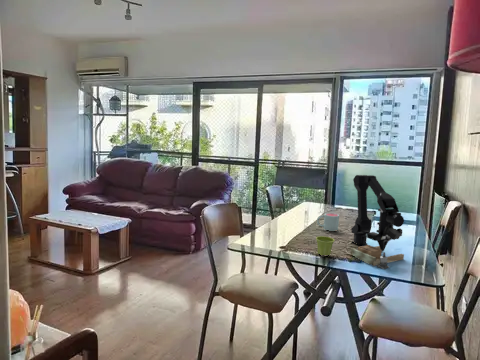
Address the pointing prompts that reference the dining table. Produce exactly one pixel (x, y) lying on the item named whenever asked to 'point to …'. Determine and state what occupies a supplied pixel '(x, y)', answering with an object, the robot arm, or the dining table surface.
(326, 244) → the plant pot
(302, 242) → the dining table surface
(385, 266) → the winch drum
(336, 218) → the mug
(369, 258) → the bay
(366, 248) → the crate
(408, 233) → the dining table surface
